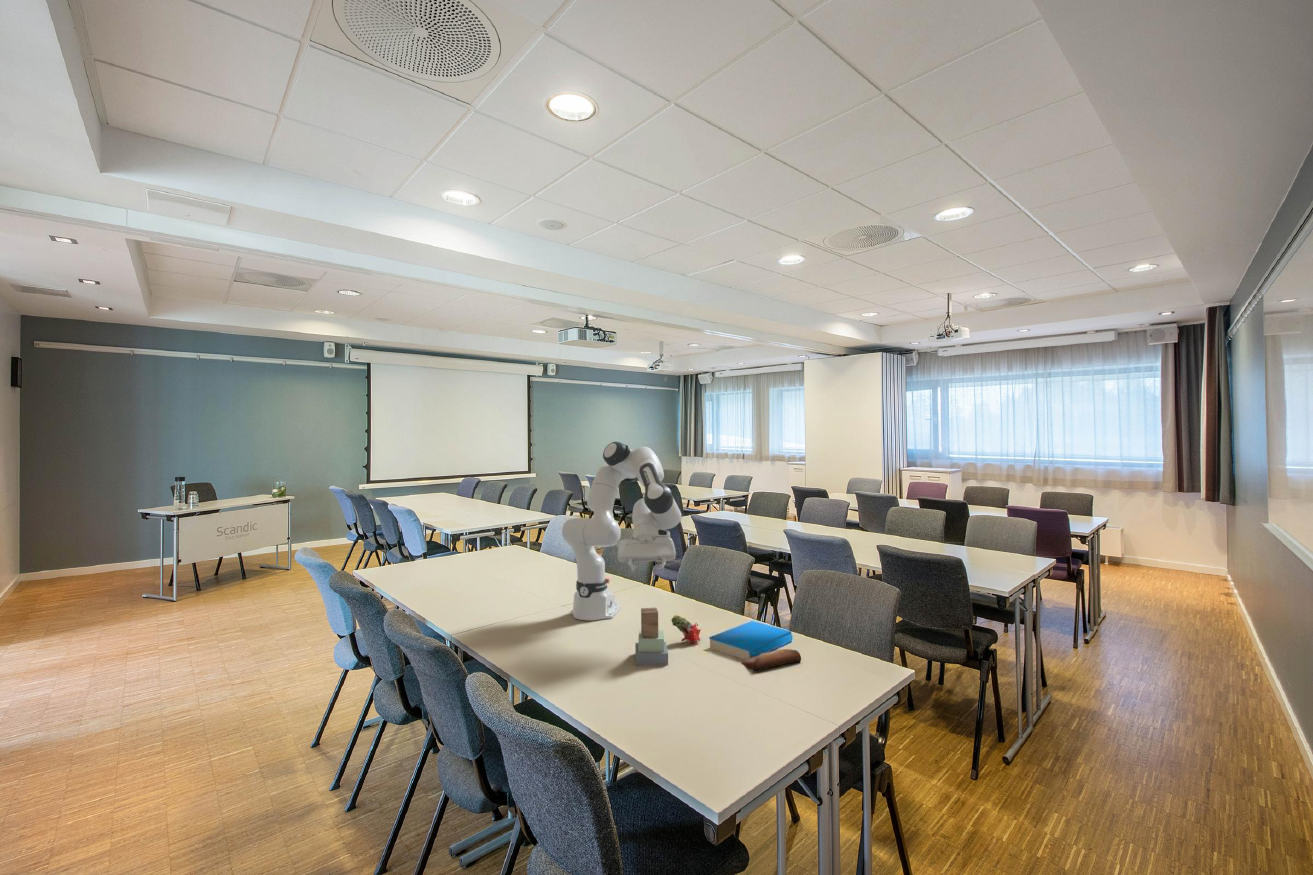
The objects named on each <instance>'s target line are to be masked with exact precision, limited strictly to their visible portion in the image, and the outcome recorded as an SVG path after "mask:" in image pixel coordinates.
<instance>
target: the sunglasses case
mask: <svg viewBox="0 0 1313 875" xmlns="http://www.w3.org/2000/svg"><path fill="white" fill-rule="evenodd" d="M801 661H802V655H801V653H800V652H799V651H798V650H796V649H791V648H789V649H788V648H784V649H777V650H776V649H775V650H772V651H769V652H766V653H761V654H760V655H759V656H756V657H753V658H750V659H747V660H745V659H744V660H743V661H741V662H740V663H741V665H742V666H744V667H745V668H747V669H749V670H750V671H751V672H754V673H756V672H757V673H758V672H760V671H764V670H767V669H771V668H772V667H778V666H782V665H787V664H791V663H796V662H801Z"/></svg>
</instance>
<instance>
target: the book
mask: <svg viewBox="0 0 1313 875" xmlns="http://www.w3.org/2000/svg"><path fill="white" fill-rule="evenodd" d="M708 639H709V649H711V650H716V651H718V652H722V653H724V654H727V655H729V656H730V655H731V656H732V657H737V658H739V659H742V660H744V661H745V660H747V659H750V658H753V657H756V656H759V655H760V654H761V653H766V652H771V651H775V650H776V649H778V648H780V647H782V646H785V645H786V644H788V643H791V642H792V641H793V639H794V638H793V633H792V631H791V630H788V629H785V628H781V627H777V626H773V625H770V624H766V623H762V622H758V621H755V620H752V621H748V622H746V623H742V624H740V625H737V626H735V627H732V628H729V629H727V630H725V631H722V632H720V633H716V634H714V635H711V636H709V637H708Z"/></svg>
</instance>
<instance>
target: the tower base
mask: <svg viewBox="0 0 1313 875" xmlns="http://www.w3.org/2000/svg"><path fill="white" fill-rule="evenodd" d="M634 651H635V666H637V667H639V666H640V667H642V666H666V665H667V666H668V665H669V650H668V646H667V642H666V641H664V652H638V642H635V650H634Z"/></svg>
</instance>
